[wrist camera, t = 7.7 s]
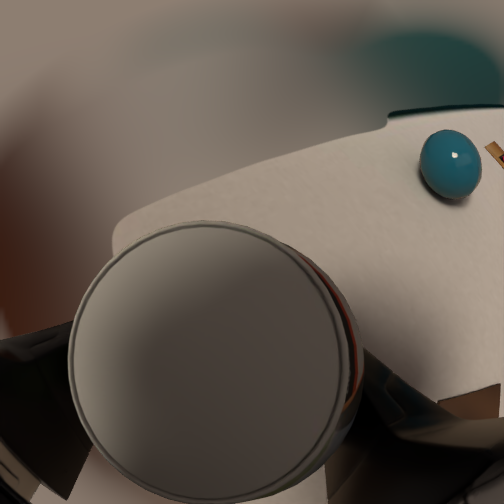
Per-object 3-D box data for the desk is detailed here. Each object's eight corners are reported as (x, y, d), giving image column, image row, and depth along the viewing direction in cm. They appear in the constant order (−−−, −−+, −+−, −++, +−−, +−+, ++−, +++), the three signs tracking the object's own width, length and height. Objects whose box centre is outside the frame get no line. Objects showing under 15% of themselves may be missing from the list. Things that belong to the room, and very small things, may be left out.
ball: (435, 158, 29) (458, 114, 22) (471, 204, 26) (503, 163, 18) (397, 167, 28) (421, 116, 21) (437, 221, 25) (474, 174, 17)
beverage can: (328, 408, 13) (488, 435, 2) (200, 440, 12) (81, 539, 2) (297, 308, 16) (373, 152, 5) (175, 338, 15) (38, 228, 4)
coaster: (489, 461, 12) (491, 462, 12) (424, 489, 13) (426, 490, 12) (498, 383, 16) (500, 383, 16) (437, 401, 17) (440, 401, 16)
